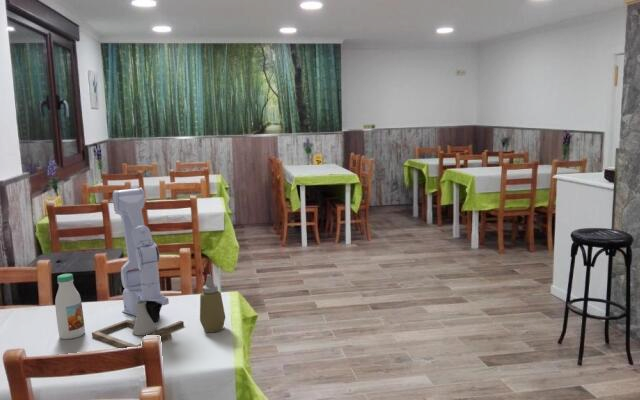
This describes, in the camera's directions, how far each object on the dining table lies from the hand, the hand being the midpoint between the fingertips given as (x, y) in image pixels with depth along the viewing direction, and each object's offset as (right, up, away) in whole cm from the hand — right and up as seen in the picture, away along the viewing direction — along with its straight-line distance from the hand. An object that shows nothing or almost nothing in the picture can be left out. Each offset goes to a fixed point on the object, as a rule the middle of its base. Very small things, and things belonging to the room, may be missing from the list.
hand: (154, 322), depth 181 cm
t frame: (-3, -3, -3) cm, 5 cm away
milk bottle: (-26, -4, -2) cm, 26 cm away
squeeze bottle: (+20, -2, -3) cm, 20 cm away
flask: (-2, -3, -2) cm, 4 cm away
